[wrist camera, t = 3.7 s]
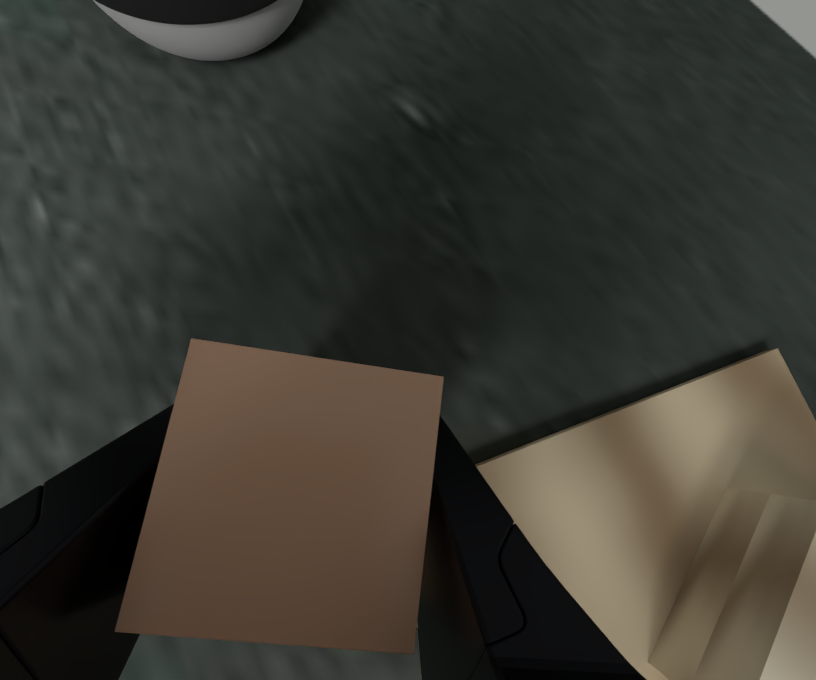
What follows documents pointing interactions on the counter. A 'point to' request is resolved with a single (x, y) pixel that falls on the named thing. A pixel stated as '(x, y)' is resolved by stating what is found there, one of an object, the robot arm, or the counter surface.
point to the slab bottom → (707, 584)
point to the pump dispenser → (204, 24)
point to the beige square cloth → (654, 489)
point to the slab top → (770, 602)
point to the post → (288, 503)
